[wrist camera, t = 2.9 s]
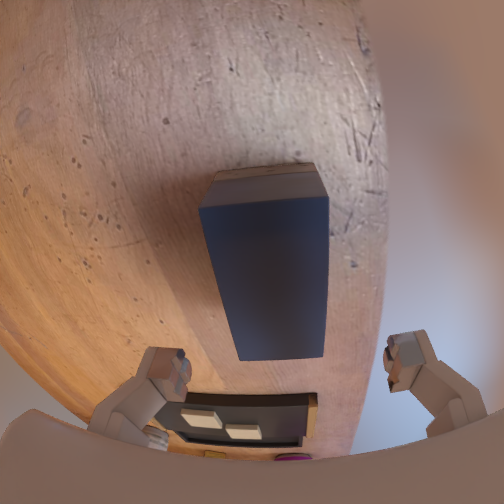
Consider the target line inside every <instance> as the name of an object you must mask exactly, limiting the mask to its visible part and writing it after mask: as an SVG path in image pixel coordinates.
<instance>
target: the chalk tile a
mask: <svg viewBox="0 0 504 504" xmlns="http://www.w3.org/2000/svg"><path fill="white" fill-rule="evenodd" d="M181 415H182V416H183V417H184V419H185V420H186V421H187V422H188V423H189V424H190V425H191V426H196V427H206V428H218V429H222V422H221V420H220V419H219V417H218V416H217V414H216V413H215V411H204V410H192V409H182V410H181Z"/></svg>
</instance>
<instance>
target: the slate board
mask: <svg viewBox="0 0 504 504" xmlns="http://www.w3.org/2000/svg"><path fill="white" fill-rule="evenodd" d="M182 409H192V410H204V411H215V413H216V414H217V416H218V417H219V419H220V420H221V422H222V429H218V428H206V427H196V426H191V425H190V424H189V423H188V422H187V421H186V420H185V419H184V417H183V416H182V415H181V410H182ZM317 410H318V399H317V393H310V394H293V395H214V394H197V393H187V396H186V399H185V402H173V401H167V402H166V403H165V405H164V406H163V407H162V408H161V409H160V410H159V411H158V412H157V413H156V414H155V416H154V417H153V418H152V419H151V420H150V421H151V422H152V423H154V424H155V425H156V426H157V427H158V428H159V429H160V430H163V431H167V429H168V430H174V431H181V432H189V433H197V434H207V435H219V436H230V435H229V434H228V432H227V431H226V429H225V427H226V424H243V425H258V426H259V428H260V431H261V434H262V437H298V436H306V438H313V436H314V430H315V423H316V417H317Z"/></svg>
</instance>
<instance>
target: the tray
mask: <svg viewBox="0 0 504 504" xmlns="http://www.w3.org/2000/svg"><path fill="white" fill-rule="evenodd" d="M173 431H174V430H173ZM174 432H175V433H176V434H178V435H179V436H180V437H181V438H182V439H183V440H184V441H185V442H188V443H196V444H205V445H215V446H228V447H247V448H291V447H302V441H303V436H298V437H262V439H234V438H231V437H230V436H219V435H207V434H197V433H189V432H181V431H174Z"/></svg>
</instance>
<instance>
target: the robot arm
mask: <svg viewBox="0 0 504 504" xmlns="http://www.w3.org/2000/svg"><path fill="white" fill-rule="evenodd" d="M387 344H388V346H387V347H386V348H385V350H384V354H383V362H384V367H385V371H386V372H388V373H389V376H388V379H387V380H388V384H389V388H390V392H391V393H393V392H399V391H404V390H410V392H411V393H412V394H413V395H414V396H415V397H416V398H417V399H418V400H419V401H420V402H421V403H422V404H423V406H425V408H426V409H427V410H428V411H429V412H430V413H431V414H432V415H433V416H434V417H435V419H434V420H433V421H432V422H431V423H430V424H429V425H428V427H427V428H426V432H427V437H428V438H426V439H423V440H420V441H416V442H412V443H409V444H405V445H401V446H396V447H392V448H387V449H383V450H378V451H372V452H367V453H361V454H355V455H347V456H340V457H331V458H321V459H308V460H286V461H256V460H234V459H221V458H210V457H202V456H194V455H187V454H180V453H174V452H169V451H163V450H158V449H153V448H149V447H148V445H149V441H150V438H149V436H148V435H147V434H145V433H144V432H143V431H142V429H143V427H144V426H145V425H146V424H147V423H148V422H149V421H150V420H151V419H152V418H153V417H154V416H155V414H156V413H157V412H158V411H159V410H160V409H161V408H162V407H163V406H164V405H165V403H166V402H167V401H173V402H185V399H186V396H187V392H188V388H187V386H186V384H187V383H188V382H189V381H190V380H191V375H192V367H191V363H190V361H189V360H188V359H187V358H185V352H184V350H183V349H180V348H164V347H150V346H149V347H148V348H147V349H146V351H145V353H144V356H143V358H142V361H141V363H140V366H139V368H138V371H137V373H136V376H135V377H131V378H130V379H129V380H127V381H126V382H125V383H124V384H123V385H121V386H120V387H119V388H118V389H116V390H115V391H114V392H113V393H112V394H110V395H109V396H108V397H107V398H105V399H104V400H103V401H102V402H100V403H99V404H98V405H97V406H96V408H95V410H94V413H93V415H92V417H91V420H90V423H89V425H88V428H87V430H85V429H82V428H80V427H77V426H74V425H72V424H69V423H66V422H64V421H61V420H59V419H56V418H54V417H52V416H50V415H47V414H45V413H43V412H41V411H39V410H36V409H30V410H28V411H26V412H25V413H23V414H22V415H21V416H19V417H18V418H16V419H15V420H13V421H12V422H11V423H10V424H9V426H8V427H7V428H6V430H5V432H4V434H3V436H2V438H1V440H0V504H504V408H503V409H501V410H499V411H497V412H495V413H493V414H490V415H487V412H486V409H485V406H484V403H483V400H482V397H481V395H480V392H479V390H478V389H477V388H476V387H475V386H473V385H472V384H471V383H470V382H468V381H467V380H466V379H465V378H463V377H462V376H461V375H459V374H458V373H457V372H455V371H454V370H453V369H452V368H450V367H449V366H448V365H446V364H445V363H444V362H442V361H441V360H440V361H438V360H437V358H436V355H435V352H434V350H433V348H432V345H431V343H430V340H429V338H428V336H427V333H426V331H425V330H418V331H413V332H406V333H401V334H395V335H390V336H389V337H388V340H387Z"/></svg>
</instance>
